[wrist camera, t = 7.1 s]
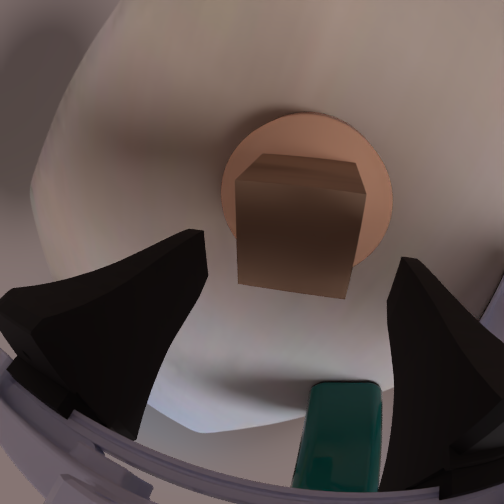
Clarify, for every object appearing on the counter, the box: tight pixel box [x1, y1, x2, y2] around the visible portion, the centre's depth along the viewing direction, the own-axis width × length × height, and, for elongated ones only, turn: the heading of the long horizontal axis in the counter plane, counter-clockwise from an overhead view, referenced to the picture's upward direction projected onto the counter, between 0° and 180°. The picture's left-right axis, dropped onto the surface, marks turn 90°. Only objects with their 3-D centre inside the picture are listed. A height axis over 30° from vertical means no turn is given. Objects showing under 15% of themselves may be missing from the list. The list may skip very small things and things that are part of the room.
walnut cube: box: [235, 153, 367, 299], centre depth 14 cm, size 5×5×5 cm
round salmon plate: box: [221, 112, 393, 267], centre depth 17 cm, size 10×10×4 cm
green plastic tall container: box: [291, 382, 382, 492], centre depth 21 cm, size 10×8×22 cm
